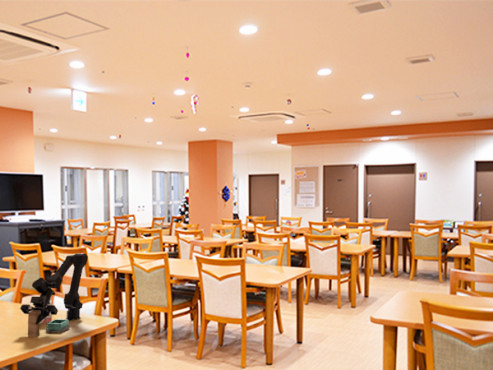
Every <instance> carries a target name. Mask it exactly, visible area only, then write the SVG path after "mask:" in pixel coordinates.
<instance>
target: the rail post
mask: <svg viewBox="0 0 493 370" xmlns="http://www.w3.org/2000/svg"><path fill="white" fill-rule="evenodd" d="M27 315H28V320H27V337H28V338H36V337H38V336H40V331H41V327H40V325H41V323H38V324H36V321H37V319H38V317H39V315H40V310H32V311H29V312H28V314H27Z"/></svg>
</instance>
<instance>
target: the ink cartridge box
mask: <svg viewBox="0 0 493 370" xmlns="http://www.w3.org/2000/svg"><path fill="white" fill-rule="evenodd" d="M51 298H52V297H51ZM51 298H50V301H49V302H50V304H48V305H53V301H52V299H51ZM48 305H47V306H48ZM46 308H47V307H46ZM51 321H53V315H51V312H50V315H49V316H47V317H46V318H44V319H43V320H42V321H41V322H40V324H45V323H46V324H47V323H48V322H51Z"/></svg>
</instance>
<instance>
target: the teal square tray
mask: <svg viewBox="0 0 493 370" xmlns="http://www.w3.org/2000/svg"><path fill="white" fill-rule="evenodd" d="M69 321H70V320H68V319H58V318H57V319H52V321H51V322H49V323H46V328H45V332H46V333H48V334H57V333H58V332H60V333H64V332H67V331H69V330H70V325H69ZM68 329H69V330H68Z"/></svg>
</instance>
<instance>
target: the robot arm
mask: <svg viewBox="0 0 493 370" xmlns="http://www.w3.org/2000/svg"><path fill="white" fill-rule="evenodd" d="M88 259H89V257H88V255H87V253H81V252H80V253H79V252H77V253H74V254H71V255H66V257H65V259H64V261H63V262H61V264H60V266H59V267H58V269H57V270H56V271H55V272H54V273H52V275H50V276H49V277H48V278H47V279H46V280H45V279H44V278H43V277H39V278H38V279H36V280H34V281H33V282H32V283H31V287H32V288H33V289H34V290H35V291H36V292H37V293H38V294H40V295H38V296H31V298H30V303H32V306H31V304H25V303H24V304H22V305H20V307H19V309H20V311H21V312H22V313H23V314H24V315H28V312H29V311H32V310H40V315H39V317H38V319H37V321H36V324H38V323H40V322H41V321H42V320H43V319H44V318H46V317H47V316H49V315H50V312H51V315H52V316H57V314H58V312H59V310H58V308H57V307H56V305H55V304H52V305H48V304H50V302H49V301H51V300H50V298H52V296H55V295H56V292H55V290H57V289H59V288H60V287H61V285H62V283H63V281H64V280H63V278H64V276H65V275H66V274H67V272H68V271H69V269H70V268H71V266H72V265H73V271H72V272H73V273H72V277H71V281H70V284H69V285H70V286H69V291H68V292H67V293H65V294H64V298H63V304H64V308H65V309H67V310H66V320H68V319H69V321H73V320H72V319H75V320H78V319H77V318H80V319H81V316H80V314H81V313H80V311H81V309H83V305H84V304H83V303H82V302H81V300H80V299H81V298H80V294H79V288H80V284H81V280H82V279H81V278H82V274H83V270H84V267H85V266H86V265H87V263H88ZM54 289H55V290H54ZM47 305H48V306H47ZM46 307H47V308H46ZM40 324H41V323H40Z"/></svg>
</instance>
